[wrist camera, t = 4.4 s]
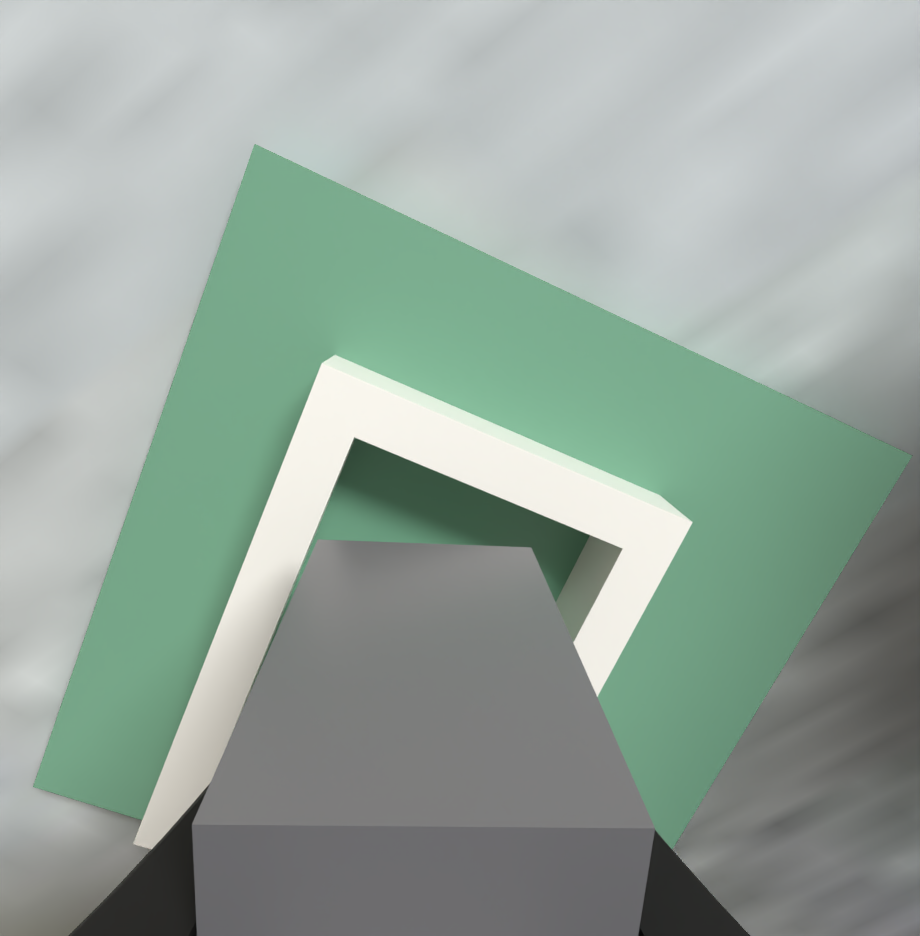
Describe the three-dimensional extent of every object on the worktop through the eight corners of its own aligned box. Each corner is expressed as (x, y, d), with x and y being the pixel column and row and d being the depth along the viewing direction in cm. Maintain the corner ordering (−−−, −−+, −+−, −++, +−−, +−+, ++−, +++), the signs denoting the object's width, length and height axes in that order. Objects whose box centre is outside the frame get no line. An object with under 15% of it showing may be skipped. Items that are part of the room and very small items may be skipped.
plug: (531, 547, 11) (654, 827, 5) (504, 838, 12) (577, 1319, 6) (317, 538, 11) (191, 826, 5) (315, 837, 12) (215, 1335, 6)
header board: (887, 448, 15) (979, 476, 13) (596, 933, 18) (623, 1034, 16) (265, 153, 13) (226, 117, 10) (52, 763, 16) (-18, 849, 13)
